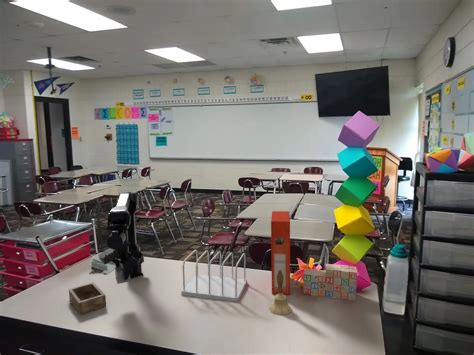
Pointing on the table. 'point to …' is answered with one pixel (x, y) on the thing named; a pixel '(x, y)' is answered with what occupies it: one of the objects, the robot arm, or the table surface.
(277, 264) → the file binder
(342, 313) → the table surface
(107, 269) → the metal bracket
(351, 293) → the stack of blocks
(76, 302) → the open wooden box
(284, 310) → the hand bell
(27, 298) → the table surface
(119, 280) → the dice cube
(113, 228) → the robot arm
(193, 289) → the file sorter
